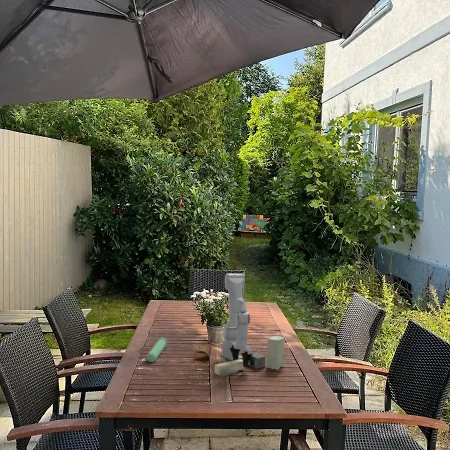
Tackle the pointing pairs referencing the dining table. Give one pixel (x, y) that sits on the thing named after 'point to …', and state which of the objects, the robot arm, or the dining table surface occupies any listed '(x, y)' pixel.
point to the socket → (257, 360)
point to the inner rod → (228, 365)
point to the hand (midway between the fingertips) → (240, 364)
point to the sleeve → (229, 370)
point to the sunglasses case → (203, 353)
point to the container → (157, 349)
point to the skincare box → (275, 352)
